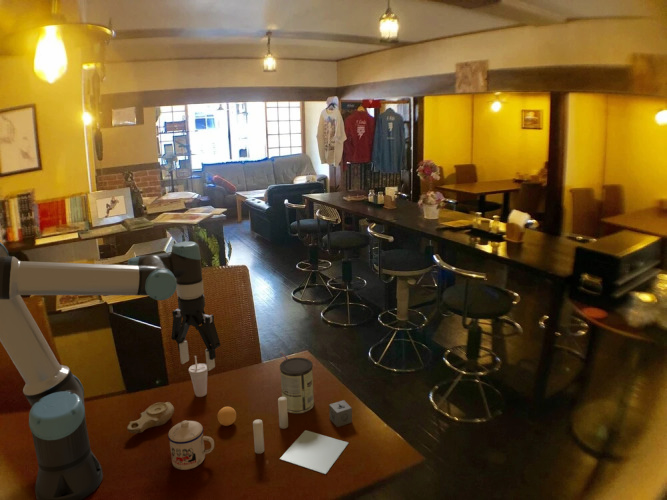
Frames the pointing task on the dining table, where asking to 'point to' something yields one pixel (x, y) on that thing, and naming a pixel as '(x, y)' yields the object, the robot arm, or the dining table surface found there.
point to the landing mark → (314, 451)
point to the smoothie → (199, 378)
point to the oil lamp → (152, 417)
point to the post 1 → (258, 436)
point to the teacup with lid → (188, 444)
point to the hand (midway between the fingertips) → (197, 365)
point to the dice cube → (340, 413)
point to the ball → (226, 416)
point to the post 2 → (283, 412)
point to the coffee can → (297, 384)
